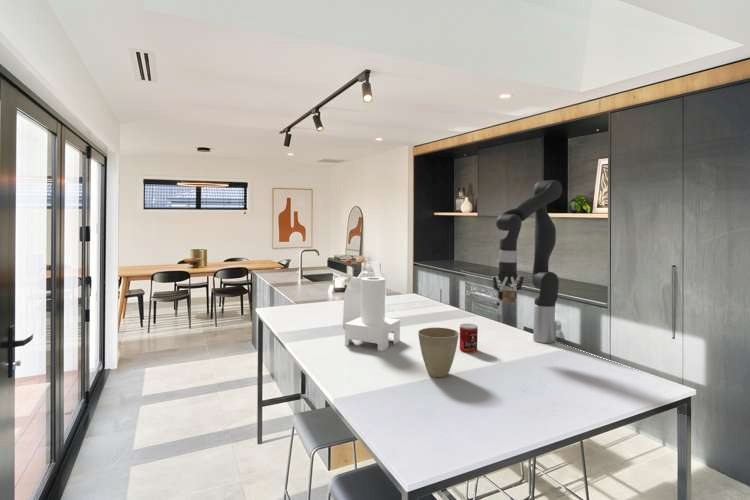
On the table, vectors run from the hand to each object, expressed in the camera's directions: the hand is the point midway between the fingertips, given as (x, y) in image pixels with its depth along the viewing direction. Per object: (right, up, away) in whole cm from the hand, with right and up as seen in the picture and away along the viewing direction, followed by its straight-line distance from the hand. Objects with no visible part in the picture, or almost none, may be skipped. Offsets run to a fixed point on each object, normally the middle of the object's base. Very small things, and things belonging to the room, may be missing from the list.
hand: (506, 299), depth 193 cm
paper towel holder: (-58, -22, +13) cm, 64 cm away
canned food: (-16, -23, +3) cm, 28 cm away
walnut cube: (0, -1, 0) cm, 1 cm away
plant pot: (-34, -25, -27) cm, 50 cm away
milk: (-67, -19, +44) cm, 82 cm away
